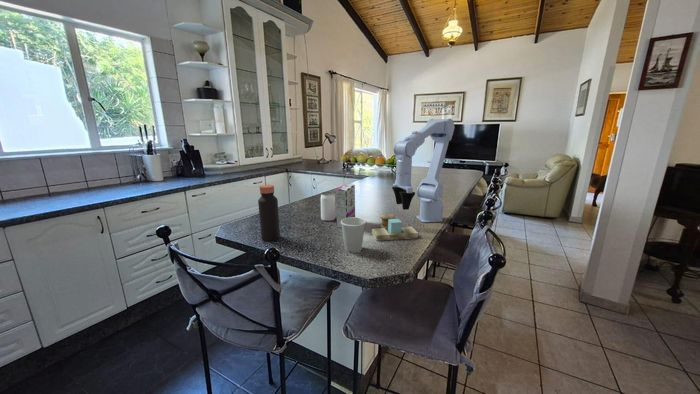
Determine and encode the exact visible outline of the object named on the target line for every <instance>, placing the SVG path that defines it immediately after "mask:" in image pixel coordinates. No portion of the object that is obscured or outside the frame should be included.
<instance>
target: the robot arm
mask: <svg viewBox="0 0 700 394" xmlns="http://www.w3.org/2000/svg"><path fill="white" fill-rule="evenodd" d="M454 132H455V123H454V120H453V119H452V118H435V119H434V118H431V119H429V120H427V122H426V124H425V126H424V127H422V129H420V130H418V131H417V130H413V131H411V134H410V135H409V136H406V137H405V138H404V139H403V140H398V141H396V143H395V144H394V147H393V154H394V156H395V157H394V158H395V161H396V166H395V167H396V171H395V173H396V174H395V180H394V183H393V184H392V187H391V189H392V191H393V193H394V197H395V202H396V205H401V206H402V210H403V211H404V210H409V209H410V207H411V203H412V200H413V198H414V197H415V195H417V197H418V200H419V201H420V203H419V215H416V216H415V217H416V218H417V219H418V220H419V221H420V222H421V223H437V222H438V223H439V222H441V223H442V222H444V220H443V215H444V214H443V213H444V204H443V201H442V200H441V199H442V197H443V189H444V185H443V183H442V182H441V181H440V176H441V172H442V168H443V165H444V160H445V158H446V154H447V152H448V151H447V150H448V146H449V142H451V141H452V137H453V135H454ZM428 137H430V138H431V139H432V141H434V142H435V144H434V149H433V153H432V157H431V160H430V163H429V167H428V170H427V175H426V177H425V178H423V179H422V180H421V179H420V183H419V185H418V186H417V188H416V192H415V191H413V189H414V187H412V167H413V164H412V163H413V157H414V156H415V154H416V151H417V150H418V148H420V147H421V146H422V145H423V144H424V143H425V142H426V141H425V140H426V139H427V138H428Z"/></svg>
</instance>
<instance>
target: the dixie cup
mask: <svg viewBox="0 0 700 394" xmlns="http://www.w3.org/2000/svg"><path fill="white" fill-rule="evenodd" d="M366 223H367V221H366V220H365V219H363V218H362V217H356V216H355V217H350V218H345V219H343V220H341V224H342V228H341V230H342V231H341V232H342V236H343V244H344V250H345V252H347V253H348V252H349V253H359V252H360V251H361V252H362V248H363V247H362V246H363V241H364V240H363V239H364V234H365V226H366Z"/></svg>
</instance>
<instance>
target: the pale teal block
mask: <svg viewBox="0 0 700 394" xmlns="http://www.w3.org/2000/svg"><path fill="white" fill-rule="evenodd" d="M402 223H403V222H402V221H401V220H400V219H399V218H395V219H388V230H387V232H388V233H389V234H393V233H401V229H402V227H403V226H402Z"/></svg>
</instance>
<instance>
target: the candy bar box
mask: <svg viewBox="0 0 700 394" xmlns="http://www.w3.org/2000/svg"><path fill="white" fill-rule="evenodd" d="M355 186H356V185H355V184H351V183H350V184H348V183H347V184H346V183H345V184H343V185H342V186H339V187H338V188H337V189H335V215H336V228H338V229H342V224H341V220H343V219H345V218H350V217H356V188H355Z"/></svg>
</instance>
